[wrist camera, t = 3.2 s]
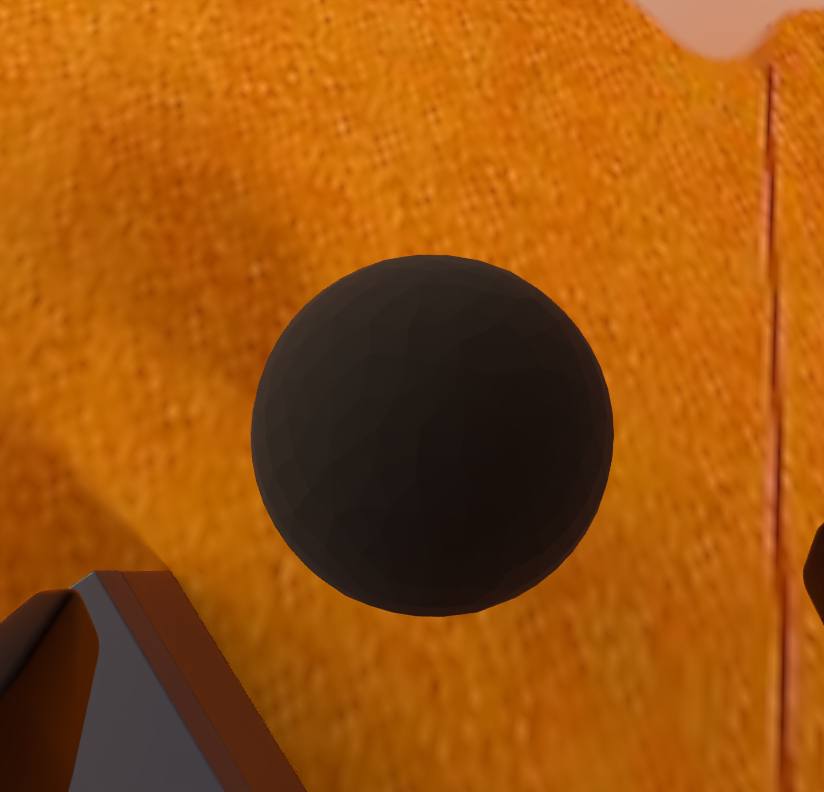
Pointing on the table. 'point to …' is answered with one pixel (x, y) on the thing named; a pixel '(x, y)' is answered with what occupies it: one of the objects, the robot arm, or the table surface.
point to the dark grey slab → (167, 699)
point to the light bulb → (432, 435)
